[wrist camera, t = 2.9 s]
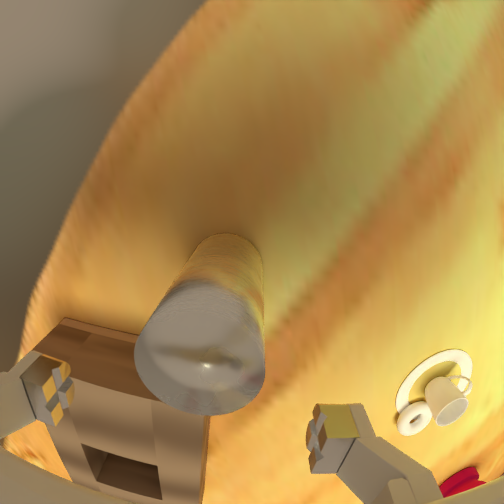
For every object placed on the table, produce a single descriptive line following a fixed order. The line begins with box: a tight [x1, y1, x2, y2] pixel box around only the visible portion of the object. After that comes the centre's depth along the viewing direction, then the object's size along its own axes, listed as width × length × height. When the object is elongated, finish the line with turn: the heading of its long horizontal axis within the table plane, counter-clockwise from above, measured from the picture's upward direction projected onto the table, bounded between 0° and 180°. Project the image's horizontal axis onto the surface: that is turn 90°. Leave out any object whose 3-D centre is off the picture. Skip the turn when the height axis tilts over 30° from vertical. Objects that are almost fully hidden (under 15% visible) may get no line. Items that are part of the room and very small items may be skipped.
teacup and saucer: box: [396, 349, 472, 436], centre depth 21 cm, size 9×8×4 cm
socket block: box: [31, 318, 210, 504], centre depth 21 cm, size 20×12×6 cm, turn 172°
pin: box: [134, 233, 265, 416], centre depth 15 cm, size 4×4×10 cm
